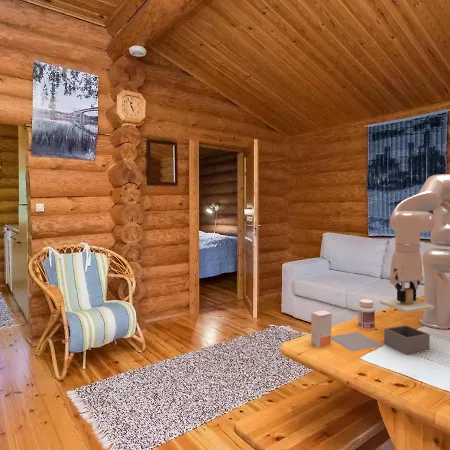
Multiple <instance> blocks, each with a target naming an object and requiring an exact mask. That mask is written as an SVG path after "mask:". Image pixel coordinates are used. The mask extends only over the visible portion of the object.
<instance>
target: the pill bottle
mask: <svg viewBox="0 0 450 450" xmlns="http://www.w3.org/2000/svg"><path fill="white" fill-rule="evenodd" d="M357 309H358V310H357V311H358V314H357V315H358V319H357V321H358V322H357V324H358V328H359V329H361V330H367V331H373V330H375V325H376V323H375V322H376V321H375V319H376V318H375V316H376V315H375V314H376V313H375V308H374V301H373V300H371V299H368V298H367V299H366V298H364V299H363V298H362V299H359V307H358V308H357Z"/></svg>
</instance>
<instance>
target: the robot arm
mask: <svg viewBox="0 0 450 450" xmlns="http://www.w3.org/2000/svg"><path fill="white" fill-rule="evenodd" d="M430 211H433V214H432V213H431V212H430ZM389 225H390V227H391V229H392V230H393V231H395V240H394V241H395V246H394V247H395V249H394V251H395V252H393V253H392V258H391V262H390V273H389V274H390V275H389V276H390V277H389V278H390V279H389V283H390V284H391V285H393V287H394V288H395V290H396V298H397V300H398V301H400V302H405V301H406V291H404V288H406V283H408V288H411V289H413V301H416V300H417V290H418V289H419V285H420V283H421V282H423V281H424V283H423V285H424V288H423V292H424V293H423V295H424V296H423V303H427V304H430V305H433V306H435V309H430V310H424V311H423V316H422V317H420V318H419V320H418V321H419V324H421V325H423V326H425V327H428V328H432V329H438V328H439V330H449V329H448V328H450V278H449V277H448V275H447V274H450V249H449V248H450V173H446V174H445V173H443V174H433V175H431V176H429V177H428V178H426V180H425V182H424V183H423V185H422V186H421V188H420V190H419V192H418V193H417V194H415V195H412V196H411V197H408V198H406V199H403V200H402V201H401V202H400V203H398V204H397V205H396V206H395V208H394V209H393V211H392V213H391V216H390V218H389ZM429 232H430V238H429V239H430V243H431V244H432V245H433V246H435V247H436V246H437V248H435V247H433V248H428V249H426V250H424V252H423V253H422V254H421V251H420V250H421V233H422V234H423V233H425V234H426V233H429ZM438 247H443V248H438ZM444 247H445V248H444ZM423 273H424V274H423ZM423 275H424V276H423Z"/></svg>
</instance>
